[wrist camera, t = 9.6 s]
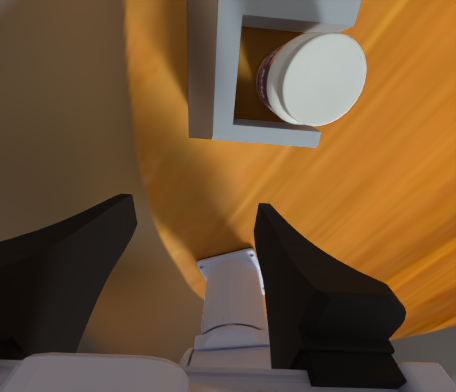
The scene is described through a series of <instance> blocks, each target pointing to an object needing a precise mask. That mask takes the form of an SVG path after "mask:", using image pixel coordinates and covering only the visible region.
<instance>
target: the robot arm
mask: <svg viewBox="0 0 456 392" xmlns="http://www.w3.org/2000/svg"><path fill="white" fill-rule="evenodd" d="M136 226H137V219H136V213H135V208H134V202H133V197H132V195H131V194H119V195H117V196H114V197H112V198H110V199H108V200H106V201H104V202H102V203H100V204H98V205H96V206H94V207H92V208H90V209H88V210H86V211H83V212H81V213H79V214H77V215H75V216H72V217H70V218H68V219H66V220H63V221H61V222H58V223H56V224H53V225H51V226H48V227H45V228H43V229H40V230H37V231H34V232H31V233H27V234H24V235H21V236H18V237H15V238H12V239H8V240H4V241H1V242H0V392H456V386H455V384H454V383H453V382H452V380H451V379H450V377H449V376H448V375H447V374H446V372H445V371H444V369H443V368H442V367H441V366H440V364H437V363H424V362H404V363H401V364H398V365H397V363H396V362H395V360H394V359H393V357H392V355H391V354H393V353H394V352H395V351H394V348H393V346H392V345H391V343H390V341H389V340H388V339H389V338H390V337H391V336H392V335H393V334H394V333H395V331H396V330H397V329H398V328H399V327H400V326H401V325H402V323H403V322H404V320H405V316H406V310H405V308H404V306H403V305H402V303H401V302H400V301H399V299H398V298H397V297H396V296H395V294H394V293H393V292H392V290H391V289H390V288H389V287H388V285H387V284H385V283H383V282H380V281H378V280H376V279H374V278H372V277H370V276H367V275H365V274H363V273H361V272H359V271H357V270H355V269H353V268H351V267H349V266H347V265H346V264H344V263H342V262H340V261H338V260H337V259H335V258H333V257H332V256H330V255H329V254H327V253H325V252H324V251H322V250H321V249H319V248H318V247H316V246H315V245H314V244H312V243H311V242H310V241H308V240H307V239H306V238H304V237H303V236H302V235H301V234H300V233H299V232H297V231H296V230H295V229H294V228H293V227H292V226H291V225H290V224H289V223H288V222H287V221H286V220H285V219H284V218H283V217H282V216H281V215H280V214H279V213H278V212H277V211H276V210H275V209H274V208H273V207H272V206H271V205H270V204H266V203H259V205H258V211H257V216H256V222H255V227H254V239H255V248H256V252H257V257H258V259H257V257H256V254H255V251H254V249H252V248H248V249H244V250H240V251H236V252H232V253H228V254H224V255H219V256H215V257H211V258H207V259H203V260H199V261H197V264H196V265H197V267H198V268H199V270H200V272H201V273H202V275H203V277H204V279H205V280H206V290H205V300H204V309H203V319H202V328H201V329H202V330H201V335H200V336H196V338H195V345H194V348H189V349H188V350H187V351H186V353H185V355H184V356H183V358H182V359H181V361H180V363H179V365H178V364H176V363H174V362H172V361H170V360H167V359H164V358H157V357H151V356H138V355H111V354H109V355H108V354H83V353H81V354H80V353H76V351H77V348H78V345H79V342H80V340H81V337H82V335H83V332H84V330H85V327H86V325H87V322H88V320H89V318H90V315H91V313H92V311H93V308H94V306H95V304H96V301H97V299H98V297H99V295H100V293H101V291H102V288H103V286H104V284H105V282H106V280H107V278H108V276H109V274H110V273H111V271H112V269H113V268H114V266H115V264H116V263H117V261H118V259H119V258H120V256H121V254H122V253H123V251H124V250H125V248H126V246H127V244H128V243H129V241H130V240H131V238H132V235H133V233H134V231H135V228H136ZM250 254H252V255H250ZM258 261H259V262H258ZM263 295H265V301H266V310H267V318H266V312H265V305H264V299H263ZM267 320H268V324H267Z"/></svg>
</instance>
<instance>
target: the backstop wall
mask: <svg viewBox="0 0 456 392" xmlns="http://www.w3.org/2000/svg"><path fill="white" fill-rule="evenodd" d="M217 23H218V0H187V53H188V113H189V138H200V139H212V135H213V120H214V96H215V72H216V48H217Z"/></svg>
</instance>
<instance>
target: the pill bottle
mask: <svg viewBox="0 0 456 392" xmlns="http://www.w3.org/2000/svg"><path fill="white" fill-rule="evenodd" d="M366 70H367V66H366V59H365V55H364V52H363V50H362V48H361V47H360V45H359V44H358V43H357V42H356V41H355V40H354V39H353V38H352V37H350V36H348V35H346V34H343V33H337V32H331V33H320V32H310V33H306V34H302V35H300V36H298V37H296V38H294V39H292V40H291V41H289V42H287V43H285V44H284V45H282V46H280V47H278V48H277V49H275V50H274V51H272V52H271V53H270V54H269V55H268V56H267V57H266V58H265V59H264V60H263V62H262V64H261V65H260V68H259V70H258V73H257V78H256V89H257V93H258V96H259V98H260V100H261V101H262V103H263V104H264V105H265V106H266V107H267V108H269V109H270V110H271V111H272V112H274V113H275V114H276V115H278V116H279V117H280V118H281V119H283V120H284V121H286V122H289V123H292V124H298V125H303V124H305V125H309V126H320V125H325V124H328V123H331V122H333V121H335V120H337V119H338V118H340V117H341V116H343V115H344V114H345V113H346V112H347V111H348V110H349V109H350V108H351V107H352V106H353V105H354V103H355V102H356V100H357V99H358V97H359V95H360V93H361V91H362V89H363V86H364V83H365V79H366Z"/></svg>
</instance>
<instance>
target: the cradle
mask: <svg viewBox="0 0 456 392" xmlns="http://www.w3.org/2000/svg"><path fill="white" fill-rule="evenodd" d="M361 1H362V0H218V23H217V48H216V72H215V96H214V120H213V140H224V141H237V142H249V143H262V144H275V145H287V146H300V147H313V148H317V146H318V143H319V140H320V137H321V133H322V132H321V131H319V130H317V129H315V128H314V127H312V126H309V125H305V124H303V125H298V124H292V123H287V122H275V121H263V120H251V119H239V118H233V117H234V106H235V95H236V83H237V72H238V60H239V49H240V37H241V26H243V27H253V28H263V29H273V30H283V31H292V32H302V33H310V32H320V33H331V32H337V33H338V32H341V31H343V30H346V29H348V28H350V27H353V26H354V24H355V21H356V18H357V14H358V11H359V8H360V4H361Z"/></svg>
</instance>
